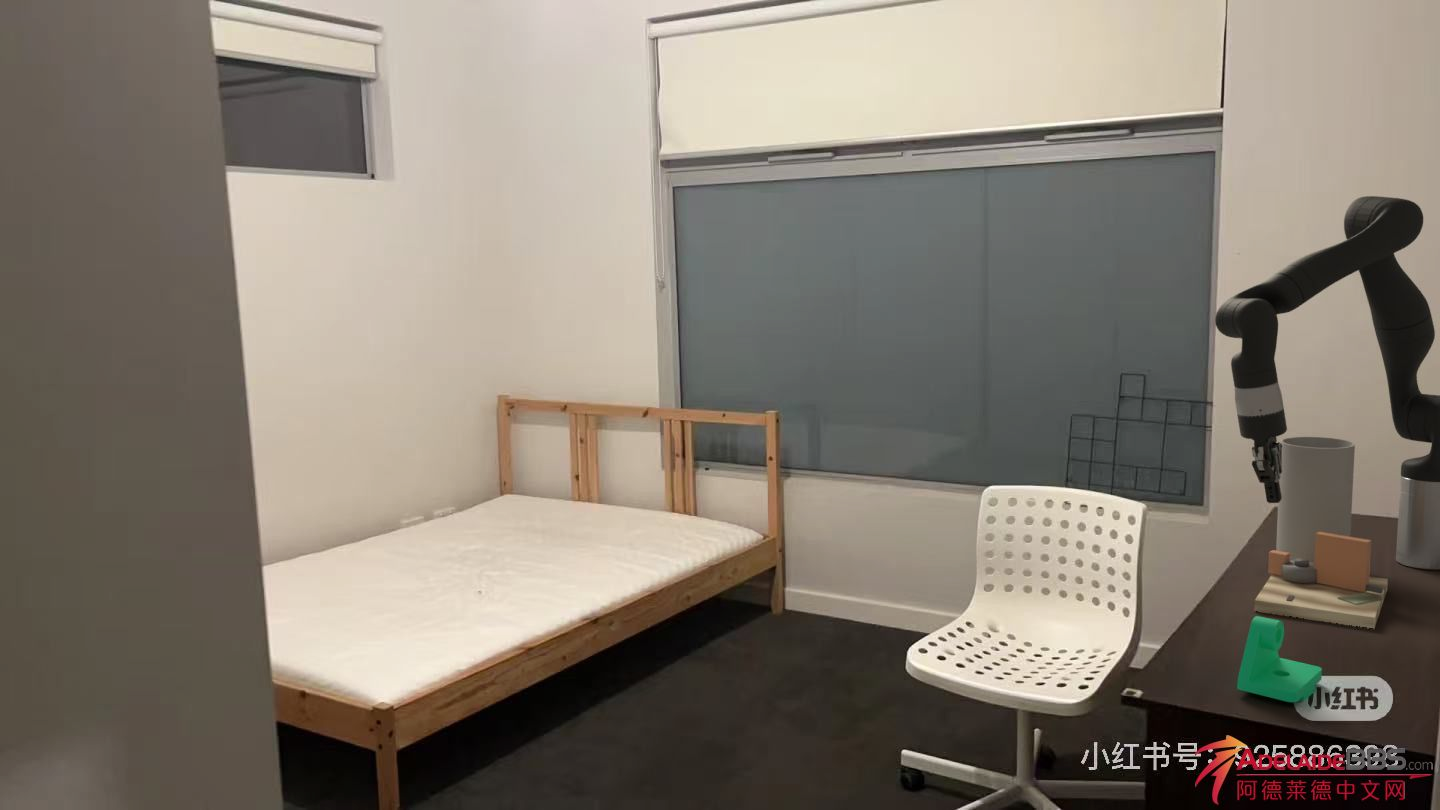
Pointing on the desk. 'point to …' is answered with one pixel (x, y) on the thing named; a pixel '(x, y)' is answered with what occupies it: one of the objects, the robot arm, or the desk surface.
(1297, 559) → the orange grey panel fixture
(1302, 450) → the cylinder vase
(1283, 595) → the level stand
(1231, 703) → the desk surface
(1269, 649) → the camera mount
